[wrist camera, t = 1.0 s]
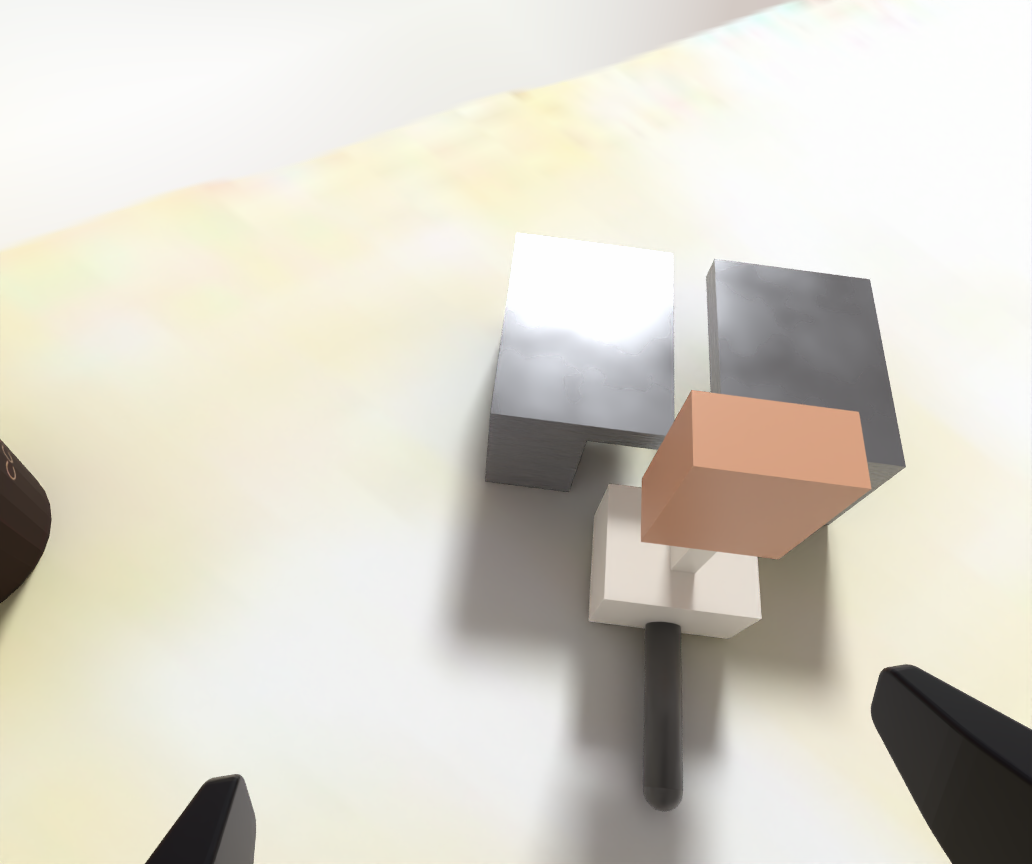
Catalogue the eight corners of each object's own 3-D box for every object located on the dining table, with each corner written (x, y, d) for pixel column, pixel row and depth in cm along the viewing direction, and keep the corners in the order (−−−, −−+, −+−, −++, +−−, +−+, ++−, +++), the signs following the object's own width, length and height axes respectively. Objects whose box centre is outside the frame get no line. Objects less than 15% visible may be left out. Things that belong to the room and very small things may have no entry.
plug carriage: (736, 820, 21) (954, 836, 12) (578, 801, 21) (672, 800, 12) (723, 532, 26) (873, 379, 16) (593, 516, 26) (670, 352, 16)
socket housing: (828, 525, 27) (905, 466, 22) (485, 481, 26) (490, 413, 22) (807, 358, 31) (869, 279, 26) (508, 319, 30) (516, 232, 26)
